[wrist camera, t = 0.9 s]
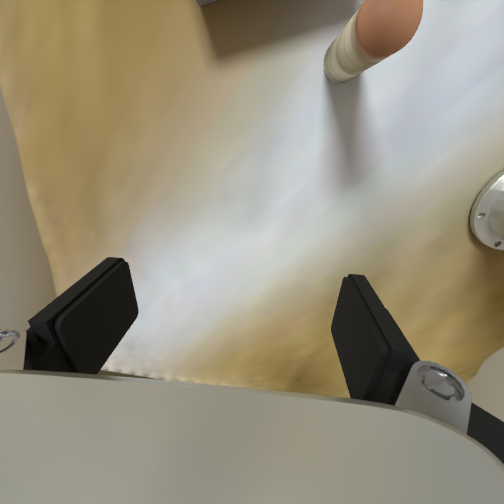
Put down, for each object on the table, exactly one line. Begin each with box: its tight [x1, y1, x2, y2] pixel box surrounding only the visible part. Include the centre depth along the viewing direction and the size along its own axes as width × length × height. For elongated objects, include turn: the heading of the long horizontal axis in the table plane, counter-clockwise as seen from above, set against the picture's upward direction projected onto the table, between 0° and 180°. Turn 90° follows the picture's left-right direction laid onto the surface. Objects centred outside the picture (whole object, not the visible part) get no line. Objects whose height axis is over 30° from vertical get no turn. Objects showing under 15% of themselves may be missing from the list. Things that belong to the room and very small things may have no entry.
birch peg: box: [324, 0, 423, 83], centre depth 22 cm, size 4×4×12 cm
